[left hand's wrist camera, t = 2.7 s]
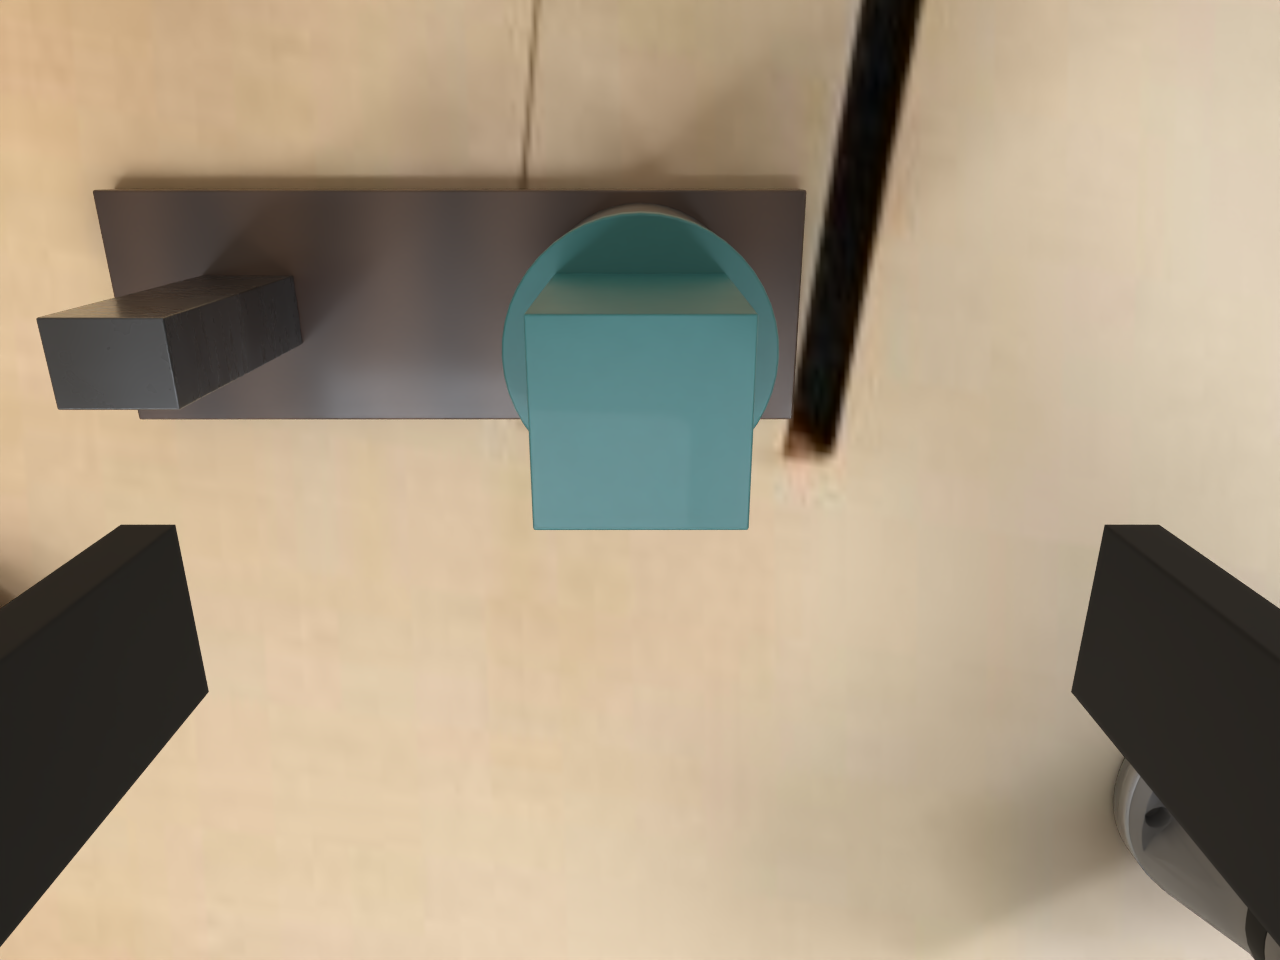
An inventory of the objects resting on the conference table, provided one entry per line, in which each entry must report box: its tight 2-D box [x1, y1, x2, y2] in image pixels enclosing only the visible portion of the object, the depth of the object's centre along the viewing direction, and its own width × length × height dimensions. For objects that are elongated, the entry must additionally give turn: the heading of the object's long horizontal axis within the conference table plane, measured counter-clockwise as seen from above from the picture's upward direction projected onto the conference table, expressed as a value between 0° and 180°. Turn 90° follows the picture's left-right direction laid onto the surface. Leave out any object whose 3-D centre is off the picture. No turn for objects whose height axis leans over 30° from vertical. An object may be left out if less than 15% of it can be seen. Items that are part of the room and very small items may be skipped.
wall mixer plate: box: [37, 189, 806, 419], centre depth 34 cm, size 30×10×12 cm, turn 90°
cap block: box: [502, 211, 779, 530], centre depth 25 cm, size 9×9×9 cm
